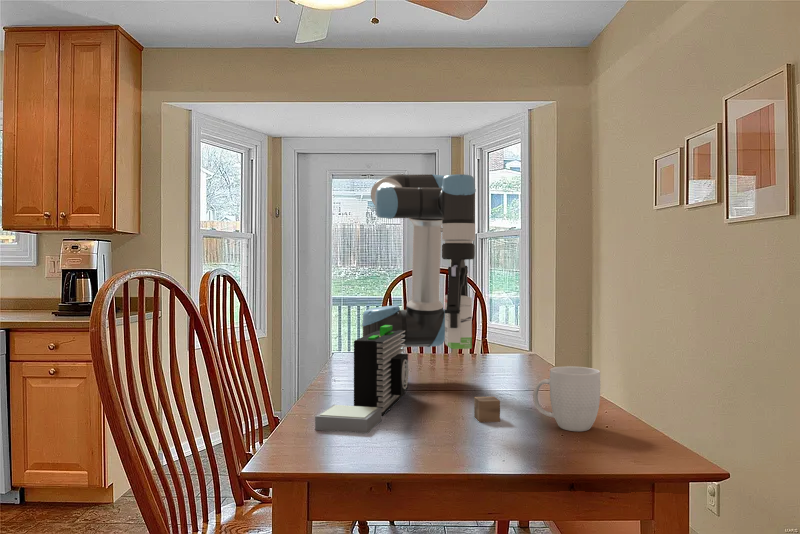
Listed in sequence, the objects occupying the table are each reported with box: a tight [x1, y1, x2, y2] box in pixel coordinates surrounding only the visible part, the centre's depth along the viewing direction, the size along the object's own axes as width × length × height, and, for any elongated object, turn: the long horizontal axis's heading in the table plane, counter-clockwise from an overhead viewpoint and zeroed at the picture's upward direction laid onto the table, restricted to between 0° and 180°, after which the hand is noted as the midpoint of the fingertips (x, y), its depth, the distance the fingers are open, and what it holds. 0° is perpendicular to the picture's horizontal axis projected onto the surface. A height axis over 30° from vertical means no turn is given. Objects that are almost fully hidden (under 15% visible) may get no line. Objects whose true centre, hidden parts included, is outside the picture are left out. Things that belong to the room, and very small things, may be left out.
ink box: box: [444, 294, 473, 350], centre depth 151 cm, size 9×5×12 cm, turn 7°
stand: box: [314, 404, 383, 434], centre depth 150 cm, size 12×12×3 cm
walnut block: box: [473, 396, 501, 423], centre depth 155 cm, size 5×5×5 cm
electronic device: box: [353, 325, 409, 417], centre depth 172 cm, size 28×11×20 cm, turn 168°
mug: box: [532, 365, 601, 432], centre depth 148 cm, size 15×11×13 cm
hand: (457, 339), depth 151 cm, fingers closed on ink box, 9 cm apart
